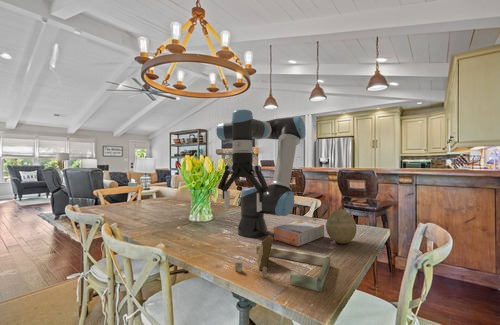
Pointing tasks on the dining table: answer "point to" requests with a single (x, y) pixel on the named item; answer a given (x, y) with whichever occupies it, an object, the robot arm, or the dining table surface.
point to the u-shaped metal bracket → (302, 257)
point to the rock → (264, 252)
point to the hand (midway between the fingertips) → (242, 209)
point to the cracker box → (298, 232)
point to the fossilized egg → (341, 226)
